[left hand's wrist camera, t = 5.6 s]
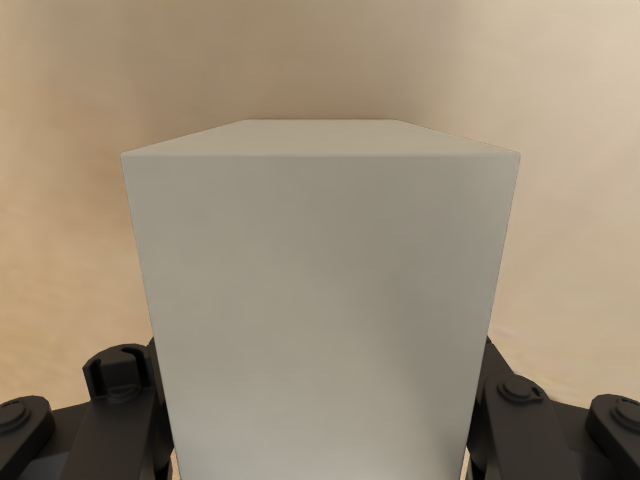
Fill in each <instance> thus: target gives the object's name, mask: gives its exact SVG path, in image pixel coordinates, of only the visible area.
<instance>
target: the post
mask: <svg viewBox="0 0 640 480" xmlns="http://www.w3.org/2000/svg"><path fill="white" fill-rule="evenodd" d="M120 160H121V165H122V170H123V176H124V181H125V186H126V192H127V197H128V202H129V208H130V213H131V218H132V224H133V229H134V234H135V239H136V245H137V250H138V255H139V261H140V266H141V271H142V277H143V282H144V287H145V293H146V298H147V303H148V309H149V314H150V319H151V325H152V330H153V335H154V341H155V346H156V351H157V357H158V362H159V367H160V372H161V378H162V383H163V388H164V394H165V399H166V404H167V410H168V415H169V420H170V426H171V431H172V436H173V442H174V447H175V452H176V458H177V463H178V468H179V474H180V479H181V480H460V475H461V470H462V465H463V459H464V454H465V449H466V444H467V438H468V433H469V428H470V422H471V417H472V412H473V406H474V401H475V396H476V391H477V385H478V380H479V375H480V369H481V364H482V359H483V353H484V348H485V343H486V337H487V332H488V327H489V322H490V316H491V311H492V306H493V300H494V295H495V290H496V284H497V279H498V274H499V269H500V263H501V258H502V253H503V247H504V242H505V237H506V231H507V226H508V221H509V216H510V210H511V205H512V200H513V194H514V189H515V184H516V178H517V173H518V168H519V162H520V153H517V152H514V151H511V150H507V149H503V148H500V147H496V146H492V145H488V144H485V143H481V142H477V141H473V140H470V139H466V138H462V137H459V136H455V135H451V134H447V133H444V132H440V131H436V130H433V129H429V128H425V127H421V126H418V125H414V124H410V123H406V122H403V121H399V120H395V119H245V120H241V121H237V122H234V123H230V124H226V125H223V126H219V127H215V128H211V129H208V130H204V131H200V132H197V133H193V134H189V135H185V136H182V137H178V138H174V139H171V140H167V141H163V142H159V143H156V144H152V145H148V146H145V147H141V148H137V149H133V150H130V151H126V152H123V153H121V154H120Z"/></svg>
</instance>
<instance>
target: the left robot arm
mask: <svg viewBox="0 0 640 480" xmlns="http://www.w3.org/2000/svg"><path fill="white" fill-rule="evenodd" d="M82 369H83V372H84V376H85V380H86V383H87V387H88V390H89V394H90V398H91V400H90V402H86V403H83V404H79V405H75V406H71V407H66V408H62V409H58V410H53V411H52V410H51V407H50V404H49V402H48V401H47V400H46V399H45V398H44V397H40V396H33V395H32V396H26V397H19V398H16V399H13V400H10V401H8V402H5V403H3V404H1V405H0V480H172V473H173V470H172V462H171V457H170V456H171V453H172V451H173V448H174V442H173V436H172V431H171V426H170V420H169V415H168V410H167V404H166V399H165V394H164V388H163V383H162V378H161V372H160V367H159V362H158V357H157V351H156V346H155V341H154V336H153V338H152V339H151V340H150V342H149V345H147V346H146V347H145V346H143V345H139V344H122V345H118V346H114V347H110V348H108V349H106V350H104V351H101V352H99V353H98V354H96V355H95V356H93V357H92V358H91V359H89V360H88V361H87V363H86V364H85V365H84V366H83V368H82ZM466 446H467V448H468V451H469V453H470V457H469V462H468V468H467V473H466V478H465V480H640V403H639V402H637V401H635V400H632V399H629V398H626V397H623V396H619V395H612V394H604V395H598V396H597V397H595V398H594V399H593V400H592V402H591V405H590V408H589V409H585V408H581V407H576V406H572V405H568V404H563V403H559V402H556V401H552V400H550V399H549V397H548V396H547V394H546V393H545V391H544V390H543V389H542V388H541V387H539V386H538V385H537V384H536V383H534V382H533V381H531V380H529V379H527V378H525V377H523V376H520V375H516V374H514V372H513V371H512V370H511V368H510V367H509V365H508V364H507V363H506V361H505V360H504V358H503V357H502V355H501V354H500V353H499V351H498V350H497V348H496V347H495V346H494V344H492V343H491V340H490V339H489V337H488V336H487V337H486V343H485V348H484V353H483V359H482V364H481V369H480V375H479V380H478V385H477V391H476V396H475V401H474V406H473V412H472V417H471V422H470V428H469V433H468V438H467V444H466Z"/></svg>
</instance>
